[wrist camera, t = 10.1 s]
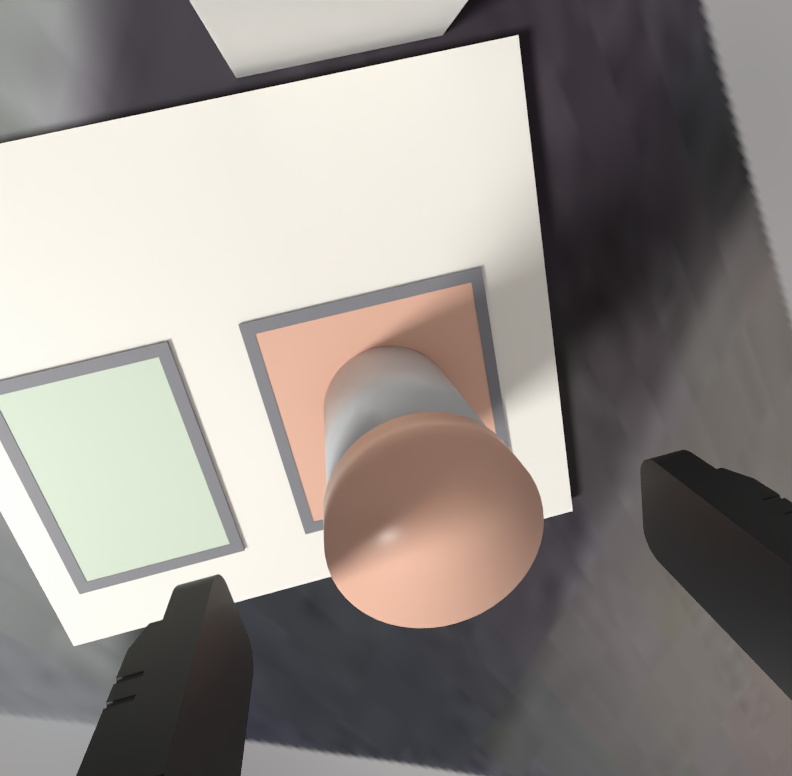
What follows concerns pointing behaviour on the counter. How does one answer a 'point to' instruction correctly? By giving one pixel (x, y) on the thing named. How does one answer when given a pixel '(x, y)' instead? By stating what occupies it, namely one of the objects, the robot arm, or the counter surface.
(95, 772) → the robot arm
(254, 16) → the white open box
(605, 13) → the counter surface
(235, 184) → the picture board
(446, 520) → the peach-capped grey cylinder
